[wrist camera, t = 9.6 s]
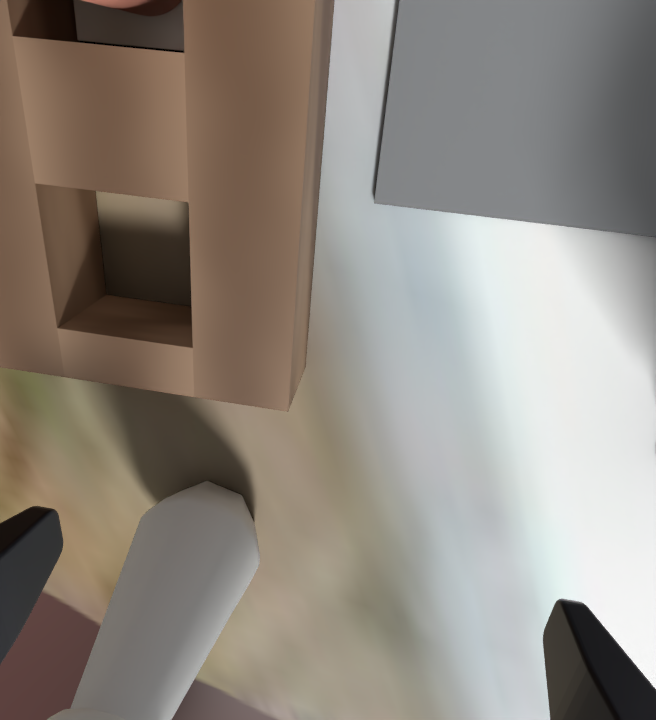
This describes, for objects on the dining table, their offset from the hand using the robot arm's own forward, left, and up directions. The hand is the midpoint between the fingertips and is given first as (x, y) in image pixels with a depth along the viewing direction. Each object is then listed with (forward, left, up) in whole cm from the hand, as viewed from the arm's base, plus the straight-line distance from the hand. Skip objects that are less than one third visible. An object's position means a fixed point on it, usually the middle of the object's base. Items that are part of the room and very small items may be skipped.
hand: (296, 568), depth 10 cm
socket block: (+8, -6, -13) cm, 16 cm away
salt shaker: (+6, +12, -13) cm, 19 cm away
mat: (-5, -9, -13) cm, 17 cm away
